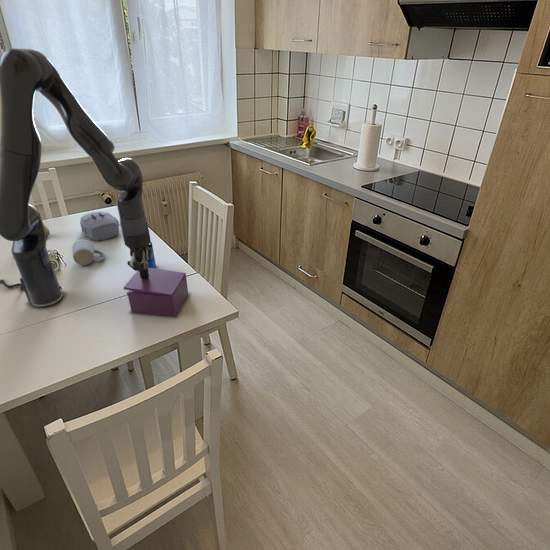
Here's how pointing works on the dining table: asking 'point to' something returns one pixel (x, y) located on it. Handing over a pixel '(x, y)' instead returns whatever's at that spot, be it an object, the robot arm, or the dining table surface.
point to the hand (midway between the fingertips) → (145, 278)
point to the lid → (156, 282)
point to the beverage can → (152, 259)
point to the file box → (158, 301)
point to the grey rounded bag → (99, 225)
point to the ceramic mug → (85, 252)
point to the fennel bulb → (44, 226)
